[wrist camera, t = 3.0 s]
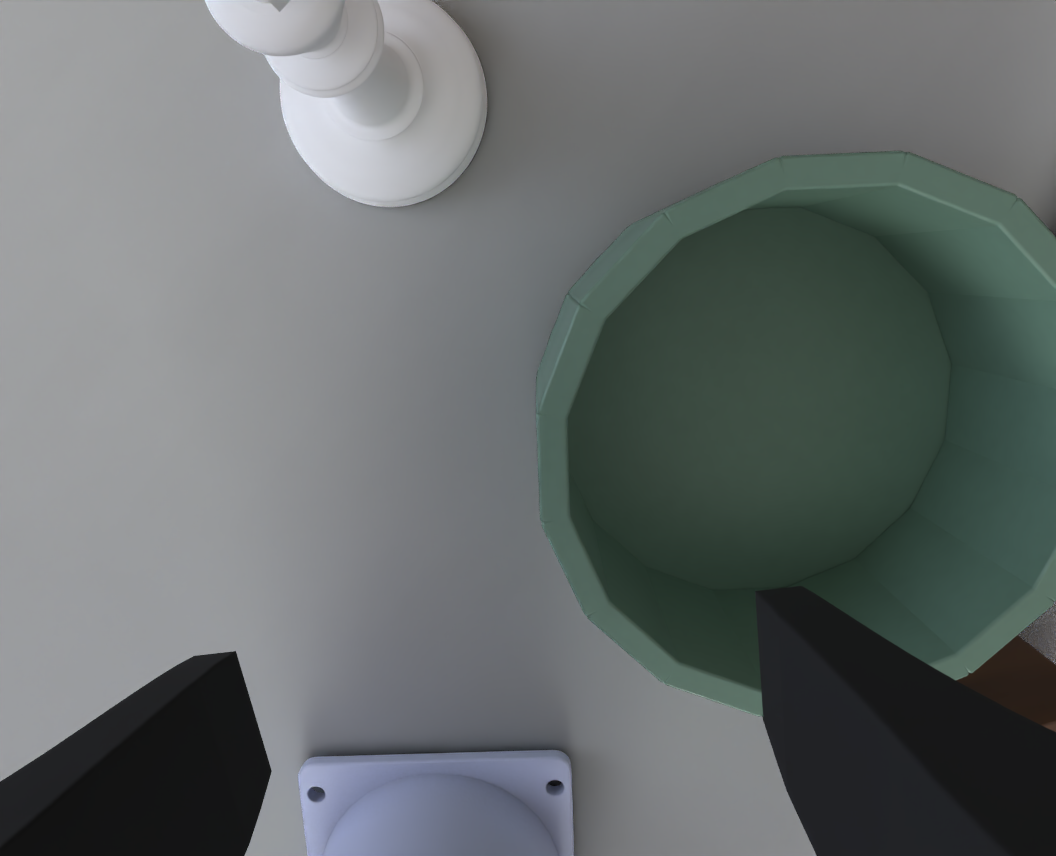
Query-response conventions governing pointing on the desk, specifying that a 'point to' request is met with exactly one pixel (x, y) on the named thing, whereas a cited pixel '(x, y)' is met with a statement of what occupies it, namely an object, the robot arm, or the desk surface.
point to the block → (1019, 682)
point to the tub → (808, 417)
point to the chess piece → (370, 90)
